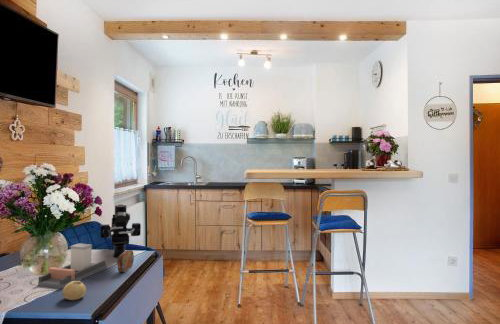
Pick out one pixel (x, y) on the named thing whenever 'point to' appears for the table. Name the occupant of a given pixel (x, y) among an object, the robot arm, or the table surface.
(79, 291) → the onion
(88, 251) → the pale grey box
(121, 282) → the table surface
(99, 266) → the cable rail
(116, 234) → the robot arm
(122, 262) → the tin
